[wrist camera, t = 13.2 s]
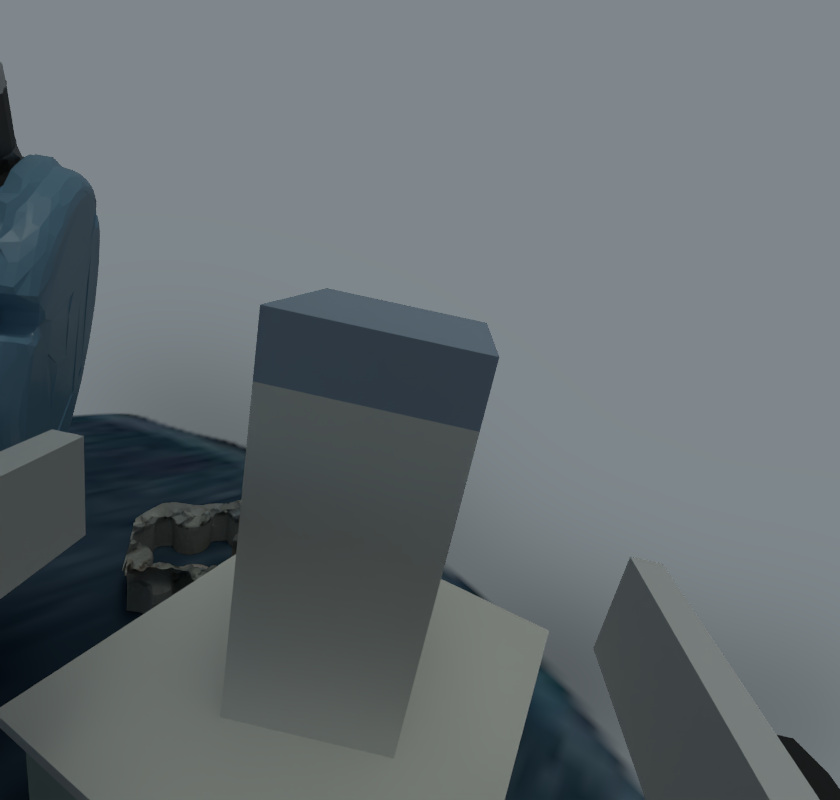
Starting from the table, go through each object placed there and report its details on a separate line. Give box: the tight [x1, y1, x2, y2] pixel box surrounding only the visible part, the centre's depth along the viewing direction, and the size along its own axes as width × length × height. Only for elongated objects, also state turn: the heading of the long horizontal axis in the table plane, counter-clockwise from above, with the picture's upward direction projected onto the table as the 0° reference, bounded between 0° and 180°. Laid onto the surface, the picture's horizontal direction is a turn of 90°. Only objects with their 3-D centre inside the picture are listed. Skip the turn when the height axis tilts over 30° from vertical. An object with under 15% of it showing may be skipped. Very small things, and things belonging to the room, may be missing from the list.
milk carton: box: [220, 288, 499, 758], centre depth 16 cm, size 6×6×14 cm
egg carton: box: [122, 500, 241, 614], centre depth 30 cm, size 11×8×4 cm
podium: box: [0, 554, 549, 800], centre depth 20 cm, size 15×15×6 cm
